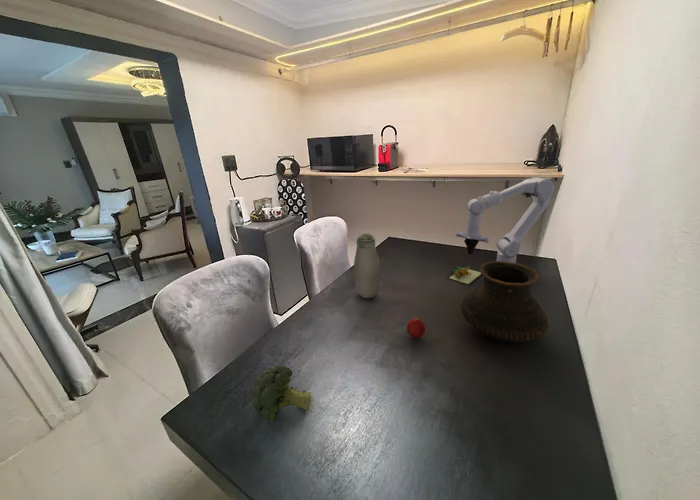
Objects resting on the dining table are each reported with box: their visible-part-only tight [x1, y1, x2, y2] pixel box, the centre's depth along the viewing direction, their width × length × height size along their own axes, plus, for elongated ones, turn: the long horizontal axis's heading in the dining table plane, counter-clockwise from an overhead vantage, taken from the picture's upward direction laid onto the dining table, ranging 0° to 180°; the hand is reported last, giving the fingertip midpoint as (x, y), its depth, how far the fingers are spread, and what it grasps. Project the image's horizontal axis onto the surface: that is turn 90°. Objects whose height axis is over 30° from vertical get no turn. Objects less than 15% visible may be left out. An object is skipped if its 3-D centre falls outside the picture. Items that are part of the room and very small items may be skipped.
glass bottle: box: [353, 233, 381, 299], centre depth 108 cm, size 10×10×28 cm
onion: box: [406, 317, 426, 339], centre depth 86 cm, size 6×6×8 cm
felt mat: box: [449, 267, 482, 285], centre depth 124 cm, size 14×9×1 cm, turn 132°
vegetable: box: [251, 364, 312, 423], centre depth 66 cm, size 12×13×15 cm
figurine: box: [450, 266, 471, 278], centre depth 124 cm, size 3×12×8 cm
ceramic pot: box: [460, 260, 550, 343], centre depth 83 cm, size 24×24×22 cm
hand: (470, 253), depth 124 cm, fingers closed
